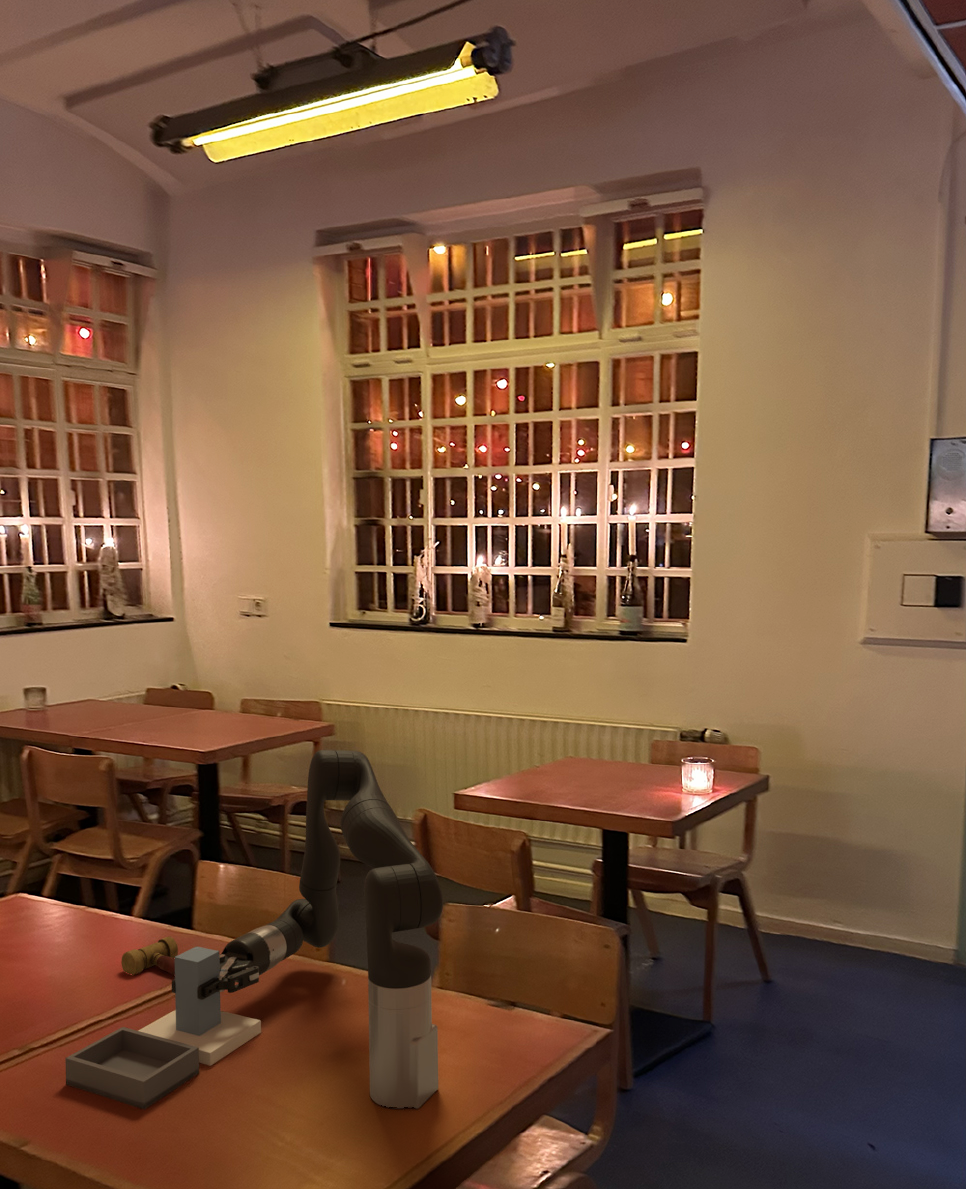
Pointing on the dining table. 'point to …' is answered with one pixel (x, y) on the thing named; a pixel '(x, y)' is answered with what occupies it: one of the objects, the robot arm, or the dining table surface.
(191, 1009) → the tile block
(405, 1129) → the dining table surface
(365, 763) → the robot arm
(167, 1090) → the tray
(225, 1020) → the bench board
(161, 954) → the gavel
